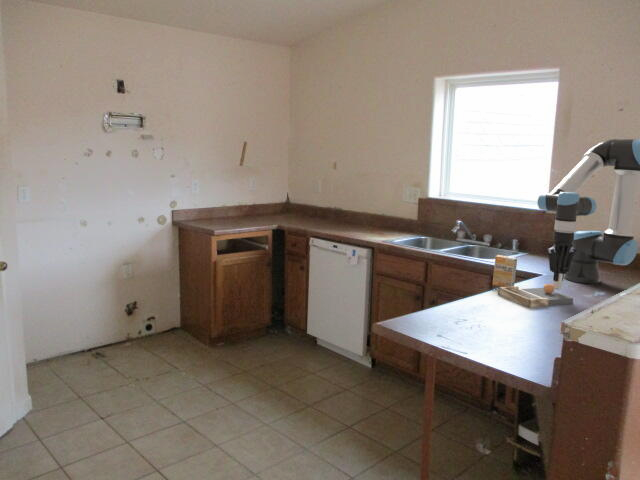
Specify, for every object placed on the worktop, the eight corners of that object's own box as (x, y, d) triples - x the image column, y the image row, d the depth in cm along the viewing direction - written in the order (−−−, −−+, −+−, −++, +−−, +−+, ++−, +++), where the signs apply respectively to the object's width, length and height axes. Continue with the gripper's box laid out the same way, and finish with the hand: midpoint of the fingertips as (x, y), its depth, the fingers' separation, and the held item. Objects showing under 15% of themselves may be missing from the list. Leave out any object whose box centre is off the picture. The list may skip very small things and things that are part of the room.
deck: (543, 292, 221) (544, 287, 221) (572, 303, 206) (573, 298, 206) (517, 293, 217) (518, 289, 216) (545, 305, 202) (546, 300, 202)
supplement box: (491, 285, 229) (494, 256, 227) (495, 283, 233) (498, 254, 231) (510, 289, 224) (514, 259, 222) (514, 287, 228) (517, 257, 226)
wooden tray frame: (516, 293, 218) (517, 286, 217) (547, 306, 201) (548, 298, 200) (498, 294, 215) (498, 287, 214) (528, 307, 198) (529, 299, 198)
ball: (548, 291, 214) (549, 282, 213) (555, 294, 210) (557, 284, 210) (540, 292, 213) (541, 282, 212) (547, 295, 209) (548, 285, 208)
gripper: (570, 229, 214) (562, 285, 218) (544, 229, 210) (537, 287, 214) (584, 232, 207) (576, 290, 211) (558, 232, 203) (550, 292, 207)
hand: (557, 288), depth 212 cm, fingers closed
